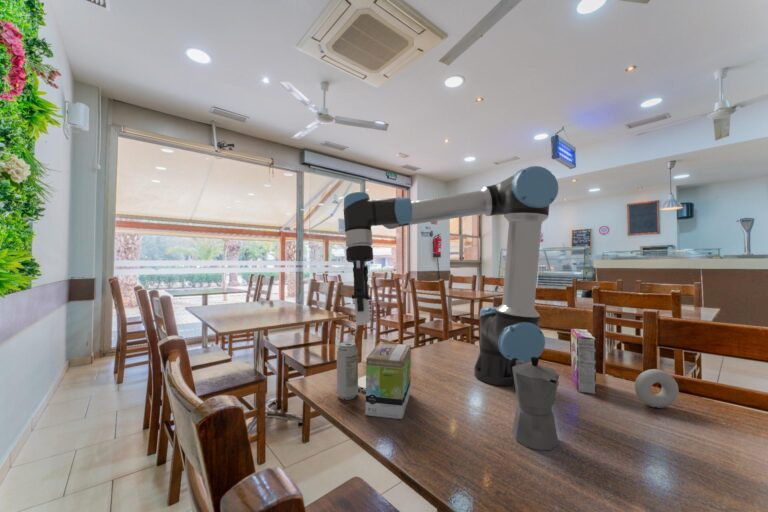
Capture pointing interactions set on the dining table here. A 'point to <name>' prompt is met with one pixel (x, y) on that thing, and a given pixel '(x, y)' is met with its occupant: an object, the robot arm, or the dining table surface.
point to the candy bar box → (583, 360)
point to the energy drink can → (347, 370)
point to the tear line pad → (362, 383)
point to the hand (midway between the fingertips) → (363, 323)
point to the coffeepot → (534, 404)
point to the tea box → (388, 380)
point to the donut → (666, 393)
